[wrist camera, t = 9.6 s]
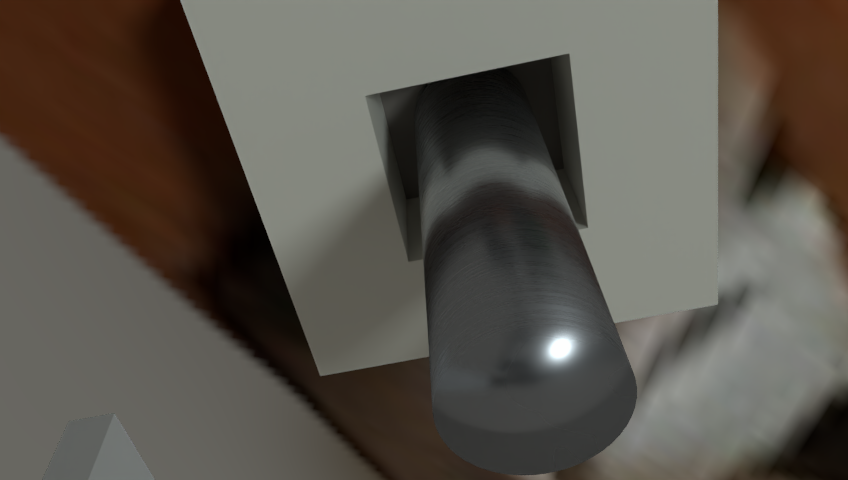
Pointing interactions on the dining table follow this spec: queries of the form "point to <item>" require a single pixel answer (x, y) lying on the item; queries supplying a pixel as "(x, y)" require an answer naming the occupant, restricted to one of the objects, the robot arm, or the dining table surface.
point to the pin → (510, 289)
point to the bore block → (397, 160)
